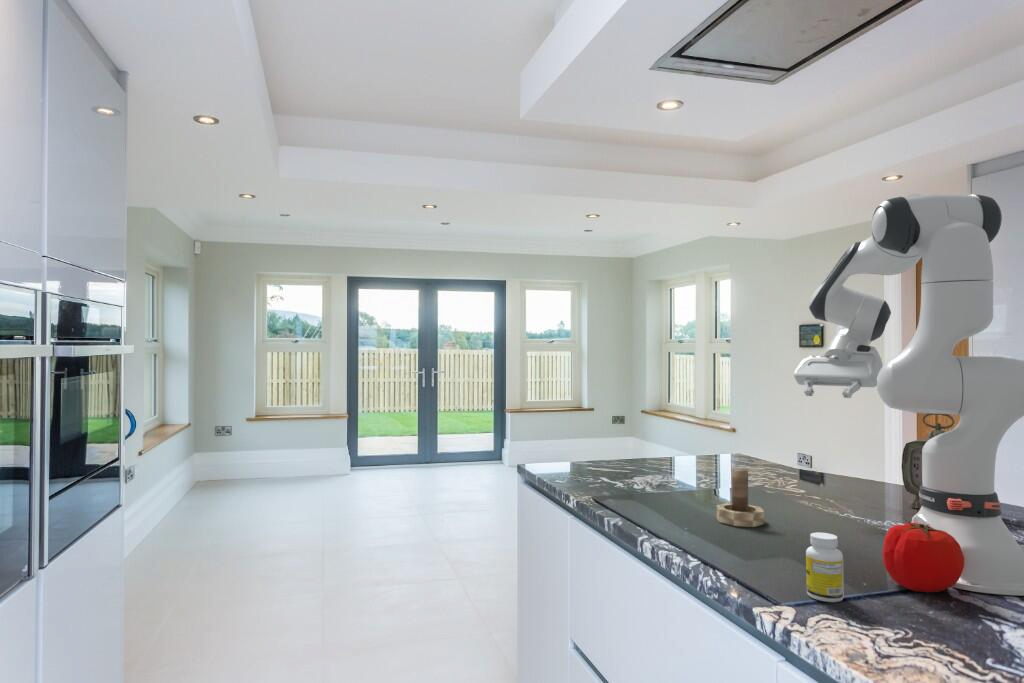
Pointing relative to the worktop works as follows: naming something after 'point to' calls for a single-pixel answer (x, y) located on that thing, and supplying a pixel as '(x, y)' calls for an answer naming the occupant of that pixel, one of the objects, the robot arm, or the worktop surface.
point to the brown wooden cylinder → (740, 490)
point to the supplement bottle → (824, 568)
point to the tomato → (922, 557)
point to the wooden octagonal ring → (740, 516)
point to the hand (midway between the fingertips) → (826, 395)
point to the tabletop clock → (917, 459)
